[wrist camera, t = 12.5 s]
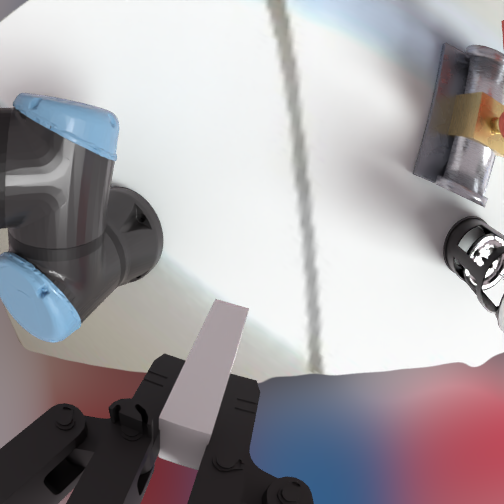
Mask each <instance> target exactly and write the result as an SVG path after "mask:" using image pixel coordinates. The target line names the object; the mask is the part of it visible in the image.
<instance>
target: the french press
mask: <svg viewBox="0 0 504 504" xmlns="http://www.w3.org/2000/svg"><path fill="white" fill-rule="evenodd" d="M475 227H480V228H481V229H482V230H483V232H484V234H485V235H484V236H482V237H480V238H479V239H477V240H476V241H475V242H474V243H473V244H472V245H471V247H470V248H469V250H468V251H467V253H466V252H465V251H463V250H462V249H461V248H460V247H459V246H458V244H459V242H460V240H461V239H462V238H463V236H464V235H465V234H466V233H467V232H468V231H470V230H471V229H473V228H475ZM444 259H445V262H446V264H447V266H448V267H449V269H450V270H451V271H453V272H454V273H456V274H457V276H458V277H459V278H460V279H462V280H464V281H465V282H466V283H467V284H468V285H469V287H470V288H471V289H472V290H473V291H474V292H475V294H476V295H477V298H478V300H479V301H480V303H481V304H482V305H483V307H484V308H485V309H486V310H487V311H489V312H491V313H495V315H496V317H497V320H498V325H499V327H500V329H501V330H502V331H503V332H504V294H503V297H502V299H501V302H500V305H499V306H497V307H496V306H495V305H494V304H493V303H492V301H491V300H490V299H489V298H488V297H487V296H486V294H485V293H484V292H483V290H487V289H489V288H491V287H493V286H494V285H495V284H496V283H497V282H499V280H500V279H501V278H502V279H503V280H504V276H503V275H504V235H502V234H501V233H499V232H498V231H496V230H495V229H493V228H492V227H490V226H489V225H488V224H487V223H486V222H485V221H484V220H482V219H481V218H478V217H466V218H464V219H461V220H460V221H458V222H457V223H456V224H455V225H454V226H453V227H452V228H451V230H450V231H449V233H448V235H447V237H446V240H445V243H444ZM454 259H456V260H457V261H458V262H459V263H460V264H461V265H462V266H463V267H460V266H458V265H457V264H456V263H455V262H454Z"/></svg>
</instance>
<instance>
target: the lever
mask: <svg viewBox="0 0 504 504" xmlns="http://www.w3.org/2000/svg"><path fill="white" fill-rule="evenodd" d="M502 31H503V47H504V20H503V21H502ZM499 129H500V132H501V135H502V136H503V138H504V112H503V113H502V114H501V116H500V118H499Z"/></svg>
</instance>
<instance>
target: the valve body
mask: <svg viewBox="0 0 504 504" xmlns="http://www.w3.org/2000/svg"><path fill="white" fill-rule="evenodd" d="M503 112H504V54H502V53H501V52H499V51H497V50H494V49H492V48H489V47H486V46H481V45H470V46H468V47H466V50H465V53H464V52H462V51H460V50H458V49H457V48H455V47H453V46H451V45H449V44H447V43H444V44H443V47H442V53H441V59H440V65H439V71H438V76H437V81H436V86H435V91H434V96H433V100H432V105H431V109H430V113H429V117H428V121H427V125H426V129H425V133H424V137H423V141H422V144H421V148H420V151H419V155H418V158H417V162H416V165H415V168H414V172H413V174H414V175H416V176H419V177H421V178H424V179H426V180H429V181H431V182H433V183H435V184H437V185H439V186H441V187H443V188H445V189H447V190H450V191H452V192H454V193H456V194H458V195H460V196H462V197H464V198H466V199H469V200H471V201H473V202H475V203H477V204H479V205H481V206H483V207H485V206H486V203H487V200H488V198H486V197H484V194H485V191H486V187H487V184H488V181H489V178H490V174H491V171H492V167H493V164H494V160H495V156H496V155H497V156H501V157H504V138H503V136H502V135H501V132H500V129H499V118H500V116H501V114H502V113H503Z"/></svg>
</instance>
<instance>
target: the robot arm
mask: <svg viewBox="0 0 504 504" xmlns="http://www.w3.org/2000/svg"><path fill="white" fill-rule="evenodd" d="M13 106H14V108H0V229H1V228H8V237H9V251H8V252H4V253H2V254H1V255H0V298H1V300H2V302H3V303H4V305H5V307H6V308H7V310H8V311H9V312H10V314H11V315H12V316H13V318H14V319H15V320H16V321H17V322H18V323H19V324H20V325H21V326H22V327H23V328H24V329H25V330H27V331H28V332H29V333H30V334H32V335H33V336H35V337H37V338H39V339H41V340H43V341H47V342H58V341H62V340H64V339H65V338H66V337H68V336H69V335H70V334H71V333H73V332H74V331H75V330H77V329H79V327H80V326H81V325H80V324H81V323H82V322H83V321H84V320H85V319H86V318H87V317H88V316H89V315H90V314H91V313H92V312H93V311H94V310H95V309H96V308H97V307H98V306H99V305H100V304H101V303H102V302H103V301H104V300H105V299H106V298H107V297H108V296H109V295H110V294H111V293H112V292H113V291H114V290H115V289H116V288H117V287H118V286H121V285H124V284H127V283H129V282H134V281H137V280H139V279H141V278H143V277H144V276H145V275H147V274H148V273H149V272H150V271H151V270H152V269H153V268H154V266H155V265H156V264H157V262H158V261H159V259H160V256H161V253H162V249H163V232H162V228H161V224H160V221H159V219H158V217H157V214H156V213H155V211H154V209H153V208H152V207H151V205H150V204H149V203H148V202H147V201H146V200H145V199H144V198H143V197H142V196H140V195H139V194H138V193H136V192H134V191H132V190H130V189H127V188H122V187H111V188H110V186H111V180H112V174H113V168H114V163H115V161H116V160H117V155H116V148H117V140H118V133H119V122H118V119H117V117H116V116H115V115H114V114H113V113H112V112H110V111H108V110H105V109H102V108H99V107H96V106H92V105H88V104H84V103H80V102H75V101H71V100H66V99H61V98H56V97H50V96H44V95H36V94H29V93H20V94H19V95H18V96H17V97H16V99H15V101H14V102H13ZM248 311H249V308H245V307H242V306H238V305H234V304H231V303H227V302H224V301H221V300H217V299H215V301H214V303H213V305H212V307H211V309H210V311H209V314H208V316H207V318H206V320H205V322H204V324H203V326H202V328H201V330H200V332H199V334H198V336H197V338H196V341H195V343H194V345H193V347H192V349H191V351H190V353H189V355H188V357H187V359H186V361H185V360H182V359H179V358H176V357H173V356H170V355H167V354H163V355H162V356H160V357H159V358H157V359H156V360H154V362H153V364H152V365H151V367H150V369H149V370H148V372H147V374H146V375H145V377H144V380H143V381H142V382H141V384H140V386H139V388H138V389H137V391H136V393H135V395H134V396H133V398H132V399H130V398H129V399H120V400H118V401H115V402H114V403H113V404H112V405H111V406H110V407H109V413H110V417H111V418H109V419H103V418H102V419H101V418H95V417H89V416H84V415H83V414H82V412H81V411H80V410H79V409H78V408H77V407H75V406H73V405H70V404H65V403H64V404H58V405H56V406H53V407H52V408H50V409H49V410H48V411H46V412H45V413H44V414H43V415H42V416H40V417H39V418H38V419H37V420H35V421H34V422H33V423H32V424H30V425H29V426H28V427H27V428H25V429H24V430H23V431H22V432H21V433H19V434H18V435H17V436H16V437H14V438H13V439H12V440H11V441H10V442H8V443H7V444H6V445H5V446H3V447H2V448H1V449H0V504H58V503H59V502H60V501H61V500H62V499H63V498H64V497H65V496H66V495H67V494H68V493H69V492H70V491H71V490H72V489H73V488H74V490H73V492H72V494H71V496H70V498H69V499H68V501H67V503H66V504H140V503H141V501H142V498H143V496H144V493H145V490H146V489H147V486H148V484H149V481H150V479H151V476H152V474H153V472H154V466H155V465H154V463H155V460H156V458H157V456H158V454H159V457H160V458H163V459H165V460H168V461H171V462H174V463H177V464H180V465H183V466H186V467H190V468H193V469H196V470H198V473H197V476H196V479H195V482H194V485H193V488H192V491H191V495H190V497H189V501H188V504H314V503H313V498H312V494H311V491H310V489H309V487H308V486H307V485H306V484H305V483H304V482H303V481H301V480H299V479H297V478H294V477H282V478H276V477H274V476H272V475H270V474H268V473H266V472H264V471H262V470H261V469H259V468H258V467H257V466H256V465H255V464H254V463H253V461H252V459H251V457H250V453H249V449H250V442H251V437H252V432H253V427H254V422H255V416H256V411H257V405H258V401H259V395H260V390H259V387H258V384H257V381H256V380H252V379H248V378H245V377H241V376H237V375H234V374H231V371H232V367H233V364H234V360H235V357H236V354H237V350H238V347H239V343H240V339H241V336H242V332H243V329H244V325H245V321H246V318H247V314H248Z"/></svg>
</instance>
